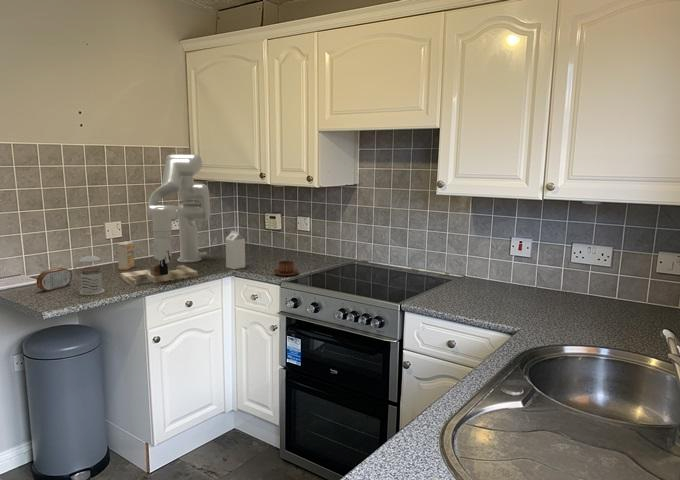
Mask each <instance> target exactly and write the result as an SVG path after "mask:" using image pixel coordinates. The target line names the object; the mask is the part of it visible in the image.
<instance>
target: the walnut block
mask: <svg viewBox="0 0 680 480" xmlns="http://www.w3.org/2000/svg"><path fill="white" fill-rule="evenodd" d="M149 266H150V267H149V269H150V271H151V275H153V276H159V275H160V268H159V263H154V264H150V265H149Z"/></svg>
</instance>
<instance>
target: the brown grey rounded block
mask: <svg viewBox="0 0 680 480" xmlns="http://www.w3.org/2000/svg"><path fill="white" fill-rule="evenodd" d="M72 274H73V273H72V271H71V270H70V269H68V268H65V267H58V268H53V269H48V270H44V271H42V272H40V273H39V274H38V276H37V278H36V286H37V288H38V289H39V290H41V291H47V292H49V291H53V290H57V289H62V288H65V287H67V286H69V285H70V284H71V282H72V279H73V277H72V276H73V275H72Z"/></svg>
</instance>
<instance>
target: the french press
mask: <svg viewBox="0 0 680 480" xmlns="http://www.w3.org/2000/svg"><path fill="white" fill-rule="evenodd" d="M85 236H86V237H87V238H88V241H87V242H88V243H90V238H89V237H90V236H92V234H91V233H90V232H86V233H85ZM101 260H102V259H101V258H100V257H99V256H97V255H92V254H91V250H90V247H88V255H86V256H83V257H81V258H80V259H78V261H79V262H78V263H77V264H75V265H74V266H73V268H72V274H73V276H74V278H75V279H76V280H78V281H79V282H80V291H79V292H78V294H79V295H83V296H92V295H99V294H102V293H104V292H105V291H106V290H105V289H104V288H103V283H102V282H103V281H102V271H101V270H100V269H101V268H100V267H97V266H96V267H95V266H93V267H92V265H91V263H96V262H100V261H101ZM83 263H85V264H86V263H89V267H84V268H81V267H82V265H83ZM78 265H79V267H80V268H81V269H80V271H81V273H80V274H79V275H80V277H79V276H78V275H77V272H76V269H77V266H78Z"/></svg>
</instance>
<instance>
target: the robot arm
mask: <svg viewBox="0 0 680 480" xmlns="http://www.w3.org/2000/svg"><path fill="white" fill-rule="evenodd" d="M202 166H203V160H202V157H201V156H200V155H199V154H193V153H191V154H190V153H188V154H187V153H171V154H168V155H166V157H165V163H164V169H163V170H164V171H163V176H162V180H161V181H162V182H161V185H160V186H158V187H157V188H155V190H154V191H153V192H152V193H151V195H150V197H148V200H147V201H148V202H147V208H146V216H147V219H148V220H149V221H151V222H152V231H153V233H152V234H153V258H154V259H155V260H158V264H159V268H160V275H167V274H168V271H169V268H168V267H169V263H170V261H171V259H172V245H171V242H172V241H171V238H172V223H171V222H176V221H178V228H179V229H178V231H179V257H178V258H177V262H179V263H185V264H188V263H197V262H200V261H202V257H206V256H208V253H207V251H204V252H202V251H199V234H198V226H197V225H196V224H195V222H194V221H196V222H197V221H201V222H202V221H209V219H210V218H211V212H212V211H211V200H210V190H209V187H208V186H207V184H205V183H195V182H194V176H196V175H197V174H198V173H199V172H200V170H201V169H202ZM174 194H177V196H178V199H179V200H180V201H182V203H179V204H178V205H177V206H176V205H173V204H158V203H159V202H160V201H161V200H162V199H164V198H166V197H170V196H172V195H174Z"/></svg>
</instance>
